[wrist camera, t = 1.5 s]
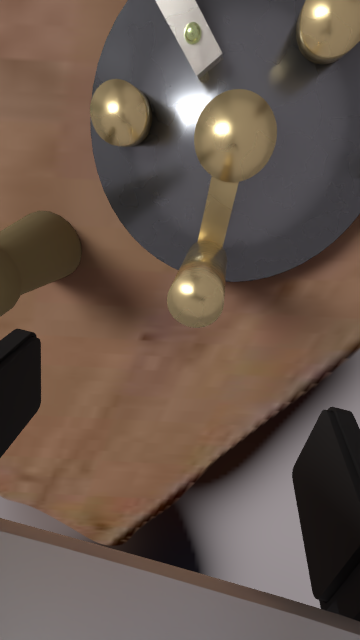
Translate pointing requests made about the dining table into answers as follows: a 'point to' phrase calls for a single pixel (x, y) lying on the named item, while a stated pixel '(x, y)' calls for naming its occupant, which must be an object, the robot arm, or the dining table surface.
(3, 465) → the dining table surface
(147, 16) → the base
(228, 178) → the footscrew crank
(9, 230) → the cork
